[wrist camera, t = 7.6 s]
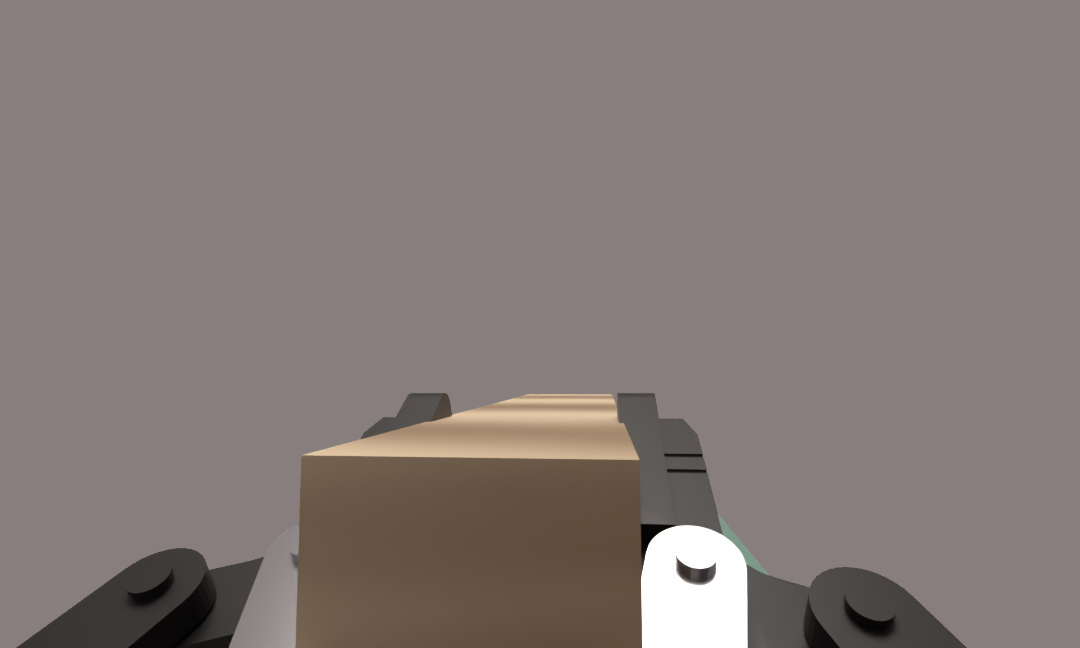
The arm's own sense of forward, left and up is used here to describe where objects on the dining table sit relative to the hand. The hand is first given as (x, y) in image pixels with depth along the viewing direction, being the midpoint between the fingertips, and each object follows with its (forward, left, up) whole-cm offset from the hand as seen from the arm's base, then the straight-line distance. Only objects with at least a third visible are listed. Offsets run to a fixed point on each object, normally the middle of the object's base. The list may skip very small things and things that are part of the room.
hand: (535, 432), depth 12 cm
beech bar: (-2, -2, -3) cm, 5 cm away
